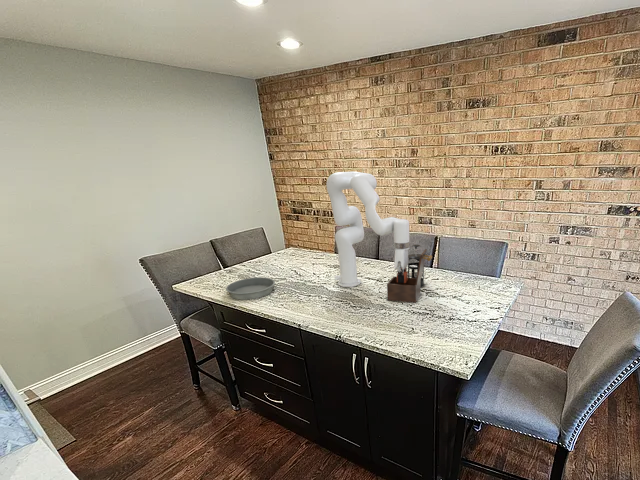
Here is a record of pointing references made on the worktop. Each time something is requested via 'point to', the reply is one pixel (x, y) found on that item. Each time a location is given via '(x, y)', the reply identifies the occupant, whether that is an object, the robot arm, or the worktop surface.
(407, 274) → the block
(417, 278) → the lid
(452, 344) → the worktop surface
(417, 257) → the french press
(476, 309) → the worktop surface
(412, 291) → the caddy
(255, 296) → the cake pan
